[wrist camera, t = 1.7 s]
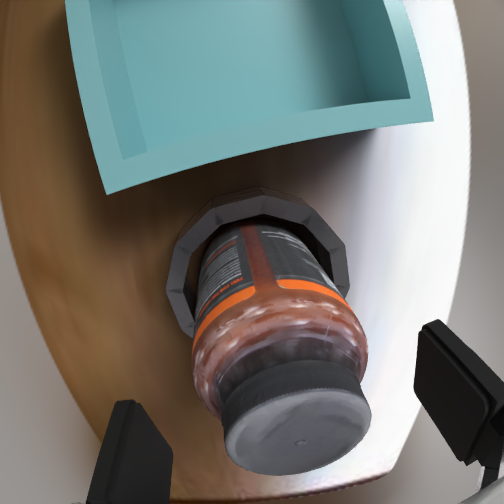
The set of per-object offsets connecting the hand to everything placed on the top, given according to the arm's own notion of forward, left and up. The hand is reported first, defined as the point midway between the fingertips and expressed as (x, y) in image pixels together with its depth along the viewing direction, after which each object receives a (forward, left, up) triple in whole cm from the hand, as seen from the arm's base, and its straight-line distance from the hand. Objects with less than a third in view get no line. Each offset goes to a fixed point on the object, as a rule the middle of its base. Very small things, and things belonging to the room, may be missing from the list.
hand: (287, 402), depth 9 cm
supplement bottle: (-1, 0, -9) cm, 9 cm away
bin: (-14, +2, -9) cm, 16 cm away
